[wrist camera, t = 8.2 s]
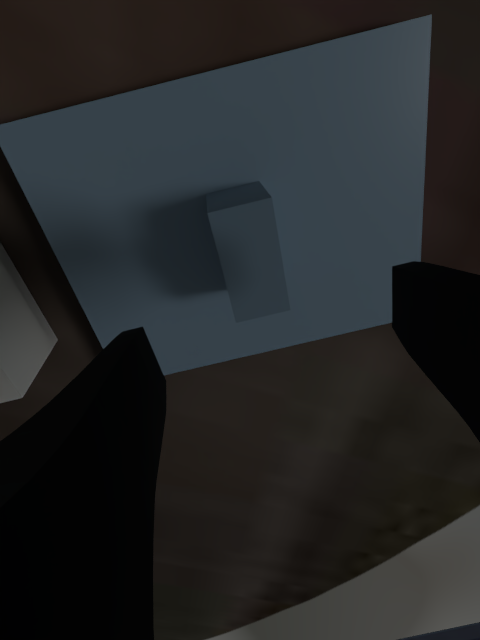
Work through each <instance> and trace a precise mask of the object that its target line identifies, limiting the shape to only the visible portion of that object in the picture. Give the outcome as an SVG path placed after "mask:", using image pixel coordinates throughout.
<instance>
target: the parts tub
mask: <svg viewBox="0 0 480 640" xmlns="http://www.w3.org/2000/svg"><path fill="white" fill-rule="evenodd" d="M57 340H58V339H57V337H56V336H55V334H54V332H53V331H52V329H51V327H50V326H49V324H48V322H47V320H46V319H45V317H44V315H43V314H42V312H41V310H40V308H39V307H38V305H37V303H36V302H35V300H34V298H33V297H32V295H31V293H30V291H29V290H28V288H27V286H26V285H25V283H24V281H23V279H22V278H21V276H20V274H19V273H18V271H17V269H16V268H15V266H14V264H13V262H12V261H11V259H10V257H9V256H8V254H7V252H6V250H5V249H4V247H3V245H2V244H1V242H0V403H3V402H7V401H11V400H15V399H19V398H23V396H24V395H25V393H26V391H27V390H28V388H29V386H30V385H31V383H32V381H33V380H34V378H35V377H36V375H37V373H38V372H39V370H40V368H41V367H42V365H43V363H44V362H45V360H46V358H47V357H48V355H49V354H50V352H51V350H52V349H53V347H54V345H55V344H56V342H57Z"/></svg>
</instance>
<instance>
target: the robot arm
mask: <svg viewBox="0 0 480 640" xmlns="http://www.w3.org/2000/svg"><path fill="white" fill-rule="evenodd" d="M392 328H393V329H394V331H395V333H396V334H397V336H398V338H399V339H400V341H401V343H402V344H403V346H404V347H405V349H406V351H407V352H408V354H409V355H410V356H411V357H412V359H413V360H414V361H415V362H416V364H417V365H418V366H419V367H420V368H421V369H422V371H423V372H424V373H425V374H426V375H427V377H428V378H429V379H430V380H431V381H432V382H433V384H434V385H435V386H436V387H437V388H438V390H439V391H440V392H441V393H442V394H443V395H444V397H445V398H446V399H447V400H448V401H449V402H450V404H451V405H452V406H453V407H454V408H455V409H456V411H457V412H458V413H459V414H460V416H461V417H462V418H463V419H464V421H465V422H466V423H467V425H468V426H469V427H470V429H471V430H472V432H473V433H474V434H475V436H476V437H477V439H478V440H479V442H480V275H477V274H473V273H468V272H464V271H460V270H456V269H452V268H448V267H444V266H439V265H435V264H430V263H425V262H418V261H412V262H408V263H404V264H400V265H396V266H392ZM165 416H166V380H165V377H164V375H163V373H162V370H161V368H160V366H159V363H158V361H157V359H156V356H155V354H154V352H153V349H152V347H151V344H150V342H149V340H148V337H147V335H146V333H145V330H144V328H143V327H139V328H135V329H131V330H127V331H122V332H121V333H120V334H119V335H117V336H116V337H115V338H114V339H113V340H112V341H111V342H110V343H109V344H108V345H107V346H106V347H105V348H104V349H103V350H102V351H101V352H100V353H99V354H98V355H97V356H96V357H95V358H94V359H93V360H92V361H91V363H90V364H89V365H88V366H87V367H86V368H85V369H84V370H83V371H82V372H81V373H80V374H79V375H78V376H77V377H76V378H75V379H74V380H72V381H71V382H70V383H69V384H68V385H67V386H66V387H65V388H64V389H63V390H62V391H61V392H60V393H59V394H58V395H57V396H56V397H54V398H53V399H52V400H51V401H50V402H49V403H48V404H47V405H46V406H44V407H43V408H42V409H41V410H40V411H39V412H37V413H36V414H35V415H34V416H33V417H31V418H30V419H29V420H28V421H26V422H25V423H24V424H23V425H21V426H20V427H19V428H18V429H16V430H15V431H14V432H12V433H11V434H10V435H9V436H7V437H6V438H4V439H3V440H2V441H0V640H154V631H153V532H154V503H155V490H156V480H157V473H158V466H159V459H160V452H161V445H162V438H163V431H164V424H165ZM398 640H480V622H479V623H474V624H469V625H465V626H460V627H455V628H450V629H446V630H441V631H436V632H431V633H427V634H422V635H417V636H412V637H408V638H403V639H398Z"/></svg>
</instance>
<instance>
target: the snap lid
mask: <svg viewBox="0 0 480 640" xmlns="http://www.w3.org/2000/svg"><path fill="white" fill-rule="evenodd" d="M431 22H432V15H428V16H424V17H420V18H416V19H412V20H408V21H404V22H401V23H397V24H393V25H389V26H385V27H381V28H377V29H373V30H369V31H365V32H361V33H357V34H354V35H350V36H346V37H342V38H338V39H334V40H330V41H326V42H322V43H318V44H314V45H310V46H307V47H303V48H299V49H295V50H291V51H287V52H283V53H279V54H275V55H271V56H267V57H263V58H260V59H256V60H252V61H248V62H244V63H240V64H236V65H232V66H228V67H224V68H220V69H216V70H213V71H209V72H205V73H201V74H197V75H193V76H189V77H185V78H181V79H177V80H173V81H169V82H166V83H162V84H158V85H154V86H150V87H146V88H142V89H138V90H134V91H130V92H126V93H122V94H119V95H115V96H111V97H107V98H103V99H99V100H95V101H91V102H87V103H83V104H79V105H75V106H71V107H68V108H64V109H60V110H56V111H52V112H48V113H44V114H40V115H36V116H32V117H28V118H24V119H21V120H17V121H13V122H9V123H5V124H1V125H0V147H1V149H2V151H3V153H4V155H5V156H6V158H7V160H8V162H9V164H10V166H11V168H12V170H13V172H14V174H15V176H16V178H17V180H18V182H19V184H20V186H21V188H22V190H23V192H24V194H25V196H26V198H27V200H28V202H29V204H30V206H31V208H32V210H33V212H34V214H35V216H36V218H37V220H38V222H39V224H40V226H41V227H42V229H43V231H44V233H45V235H46V237H47V239H48V241H49V243H50V245H51V247H52V249H53V251H54V253H55V255H56V257H57V259H58V261H59V263H60V265H61V267H62V269H63V271H64V273H65V275H66V277H67V279H68V281H69V283H70V285H71V287H72V289H73V291H74V293H75V295H76V297H77V298H78V300H79V302H80V304H81V306H82V308H83V310H84V312H85V314H86V316H87V318H88V320H89V322H90V324H91V326H92V328H93V330H94V332H95V334H96V336H97V338H98V340H99V342H100V344H101V346H102V348H103V349H104V348H105V347H106V346H107V345H108V344H109V343H110V342H111V341H112V340H113V339H114V338H115V337H116V336H117V335H119V334H120V333H121V332H122V331H127V330H131V329H135V328H139V327H143V328H144V330H145V333H146V335H147V337H148V340H149V342H150V344H151V347H152V349H153V352H154V354H155V356H156V359H157V361H158V363H159V366H160V368H161V370H162V373H163V375H167V374H172V373H176V372H180V371H184V370H189V369H193V368H197V367H202V366H206V365H210V364H215V363H219V362H223V361H228V360H232V359H236V358H241V357H245V356H249V355H253V354H258V353H262V352H266V351H271V350H275V349H279V348H284V347H288V346H292V345H297V344H301V343H305V342H309V341H314V340H318V339H322V338H327V337H331V336H335V335H340V334H344V333H348V332H353V331H357V330H361V329H365V328H370V327H374V326H378V325H383V324H387V323H391V322H392V266H396V265H400V264H404V263H408V262H412V261H418V262H421V240H422V218H423V197H424V175H425V153H426V131H427V109H428V87H429V66H430V44H431Z"/></svg>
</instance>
